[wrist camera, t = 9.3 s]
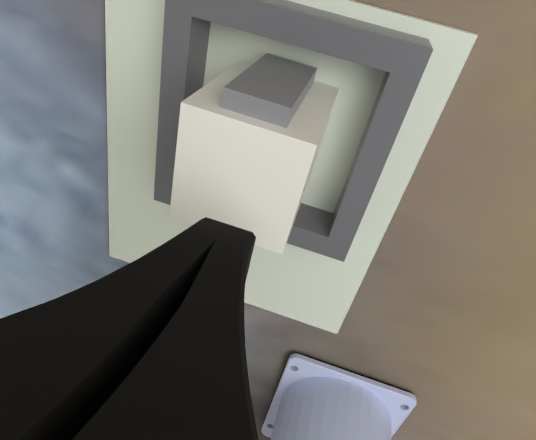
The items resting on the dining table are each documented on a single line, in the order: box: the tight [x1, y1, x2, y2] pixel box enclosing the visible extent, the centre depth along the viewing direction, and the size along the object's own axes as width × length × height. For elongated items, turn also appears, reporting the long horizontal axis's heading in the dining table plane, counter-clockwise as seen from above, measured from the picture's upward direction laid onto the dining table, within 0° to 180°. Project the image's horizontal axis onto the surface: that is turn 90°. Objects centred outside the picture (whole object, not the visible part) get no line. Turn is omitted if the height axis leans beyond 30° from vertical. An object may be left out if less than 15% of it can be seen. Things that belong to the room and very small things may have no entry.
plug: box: [169, 53, 339, 254], centre depth 15 cm, size 5×4×6 cm
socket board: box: [105, 0, 478, 334], centre depth 19 cm, size 16×14×2 cm
